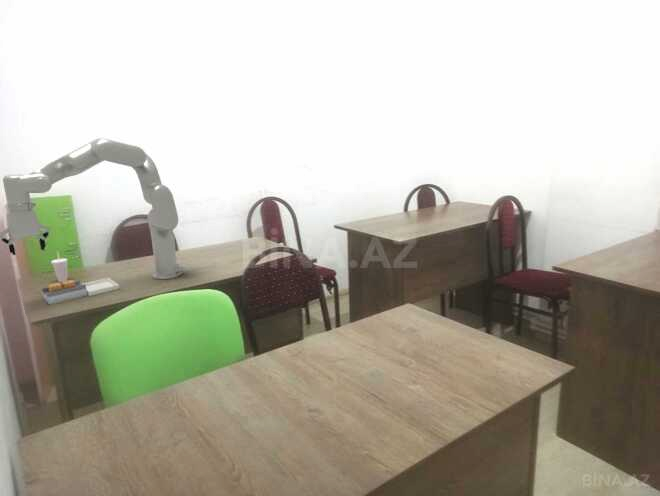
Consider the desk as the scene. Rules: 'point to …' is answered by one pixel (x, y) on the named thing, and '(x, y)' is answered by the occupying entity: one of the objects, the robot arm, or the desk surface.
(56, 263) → the smoothie
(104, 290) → the tray
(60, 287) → the chip
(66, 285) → the orange square block
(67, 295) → the slot block
